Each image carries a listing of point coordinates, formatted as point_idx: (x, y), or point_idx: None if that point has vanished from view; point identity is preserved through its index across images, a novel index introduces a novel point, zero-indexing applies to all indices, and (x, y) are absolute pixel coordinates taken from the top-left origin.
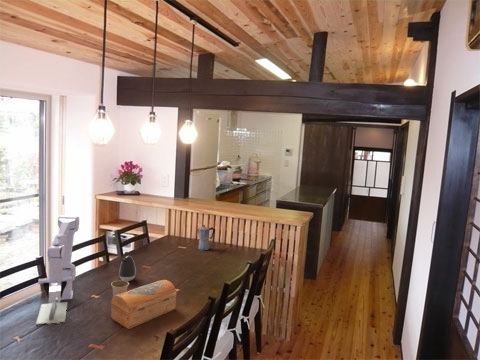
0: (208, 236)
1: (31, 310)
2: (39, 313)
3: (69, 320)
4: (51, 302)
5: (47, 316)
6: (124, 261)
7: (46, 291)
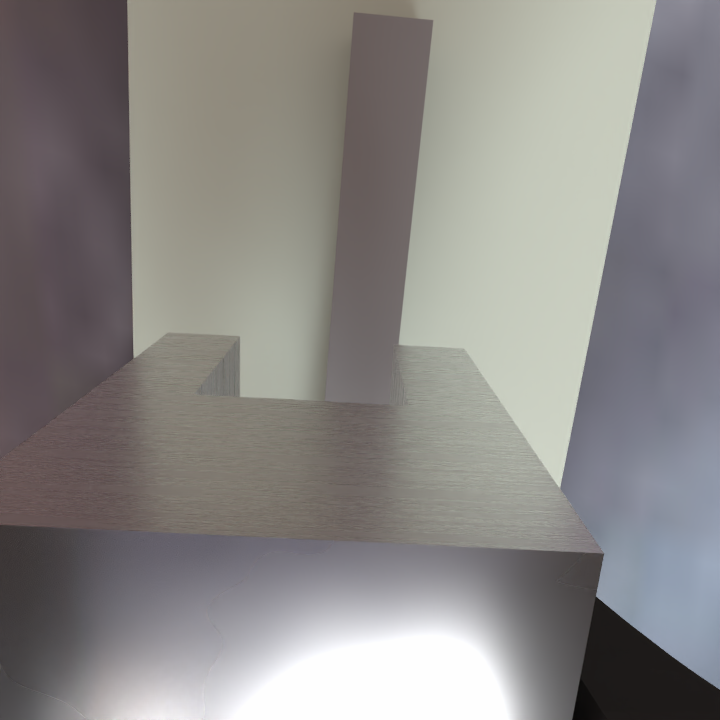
0: None
1: (655, 569)
2: (570, 383)
3: (62, 10)
4: (398, 349)
5: (447, 221)
6: None
7: (694, 681)
